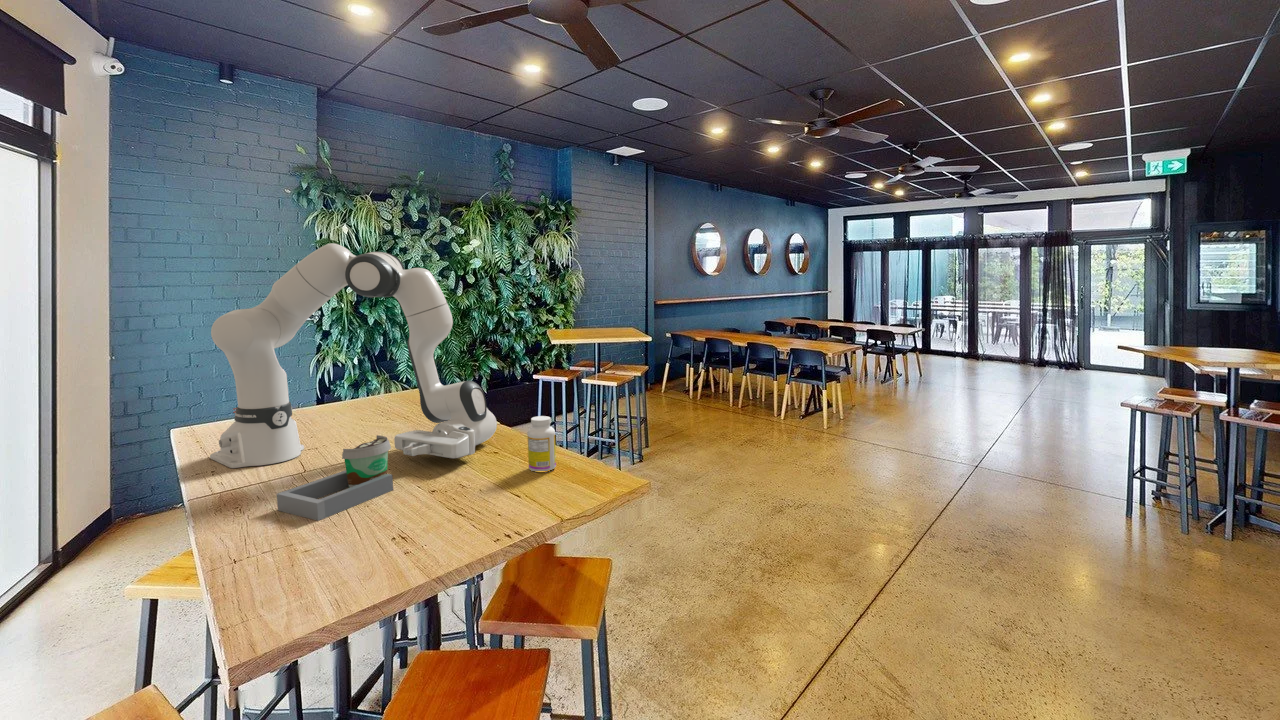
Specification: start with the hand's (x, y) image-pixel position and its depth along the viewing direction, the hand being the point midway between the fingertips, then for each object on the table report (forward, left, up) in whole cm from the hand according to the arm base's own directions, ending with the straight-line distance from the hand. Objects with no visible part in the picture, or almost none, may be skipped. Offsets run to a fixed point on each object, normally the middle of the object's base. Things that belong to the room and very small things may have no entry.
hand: (407, 452), depth 138 cm
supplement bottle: (+28, +15, -5) cm, 32 cm away
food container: (0, -10, -5) cm, 11 cm away
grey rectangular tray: (0, -19, -5) cm, 19 cm away
